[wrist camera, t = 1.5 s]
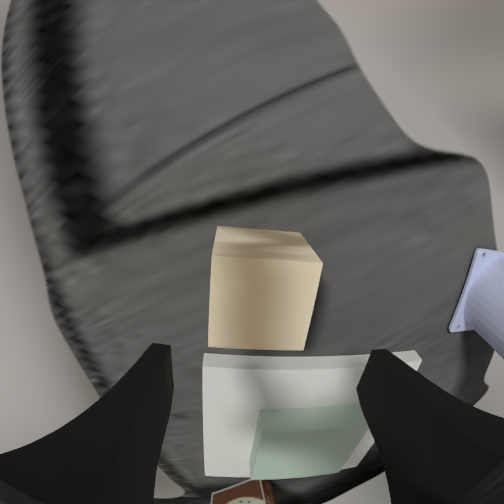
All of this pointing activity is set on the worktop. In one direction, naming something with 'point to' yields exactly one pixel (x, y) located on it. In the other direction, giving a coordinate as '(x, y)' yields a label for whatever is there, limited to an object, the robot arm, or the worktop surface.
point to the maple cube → (261, 289)
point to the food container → (246, 493)
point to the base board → (272, 391)
